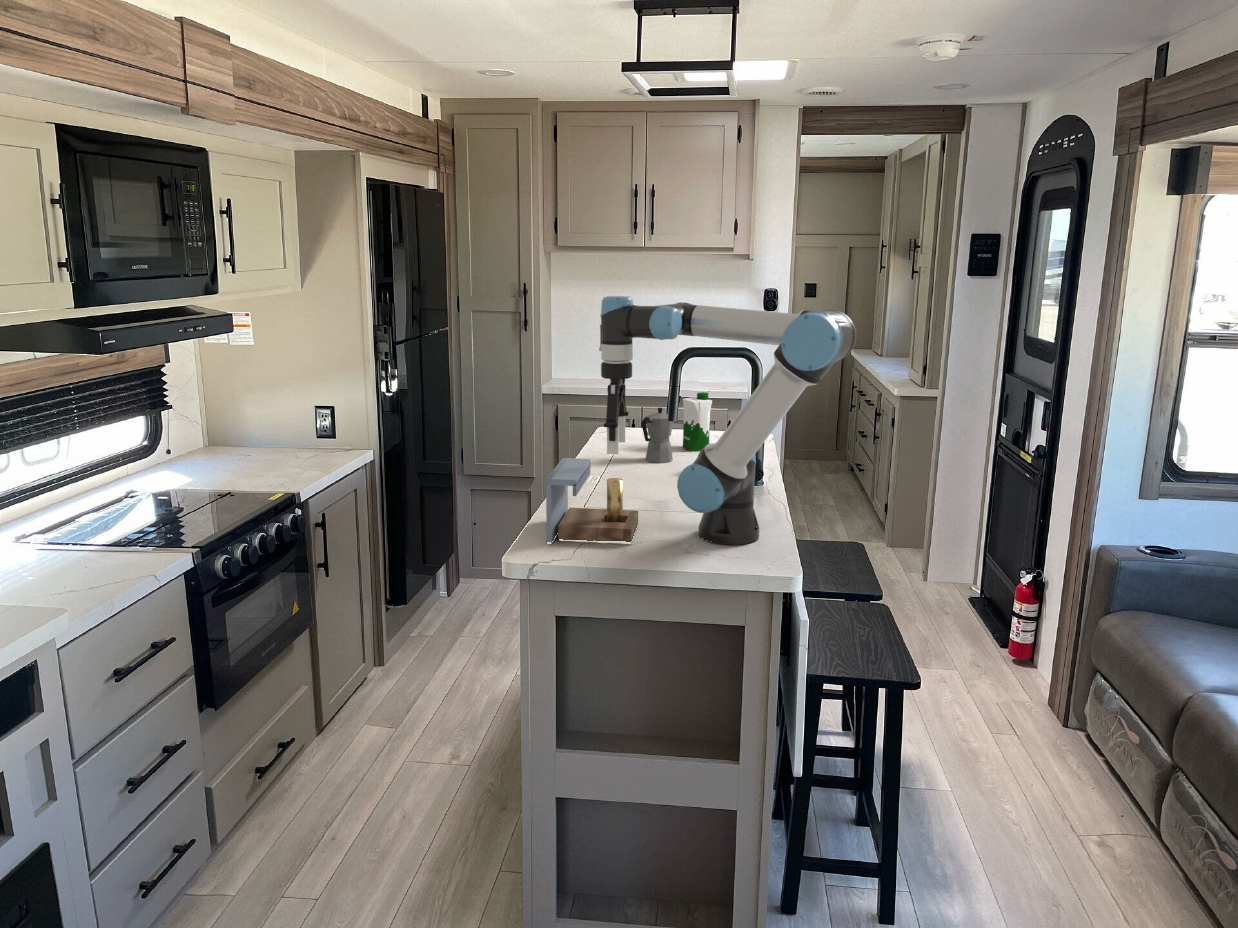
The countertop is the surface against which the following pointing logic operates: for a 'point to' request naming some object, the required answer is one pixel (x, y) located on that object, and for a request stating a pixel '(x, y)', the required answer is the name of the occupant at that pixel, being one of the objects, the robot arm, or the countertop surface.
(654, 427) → the coffeepot
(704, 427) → the milk carton
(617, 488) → the peg
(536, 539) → the countertop surface
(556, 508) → the blue-grey hooked bracket
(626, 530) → the socket block
